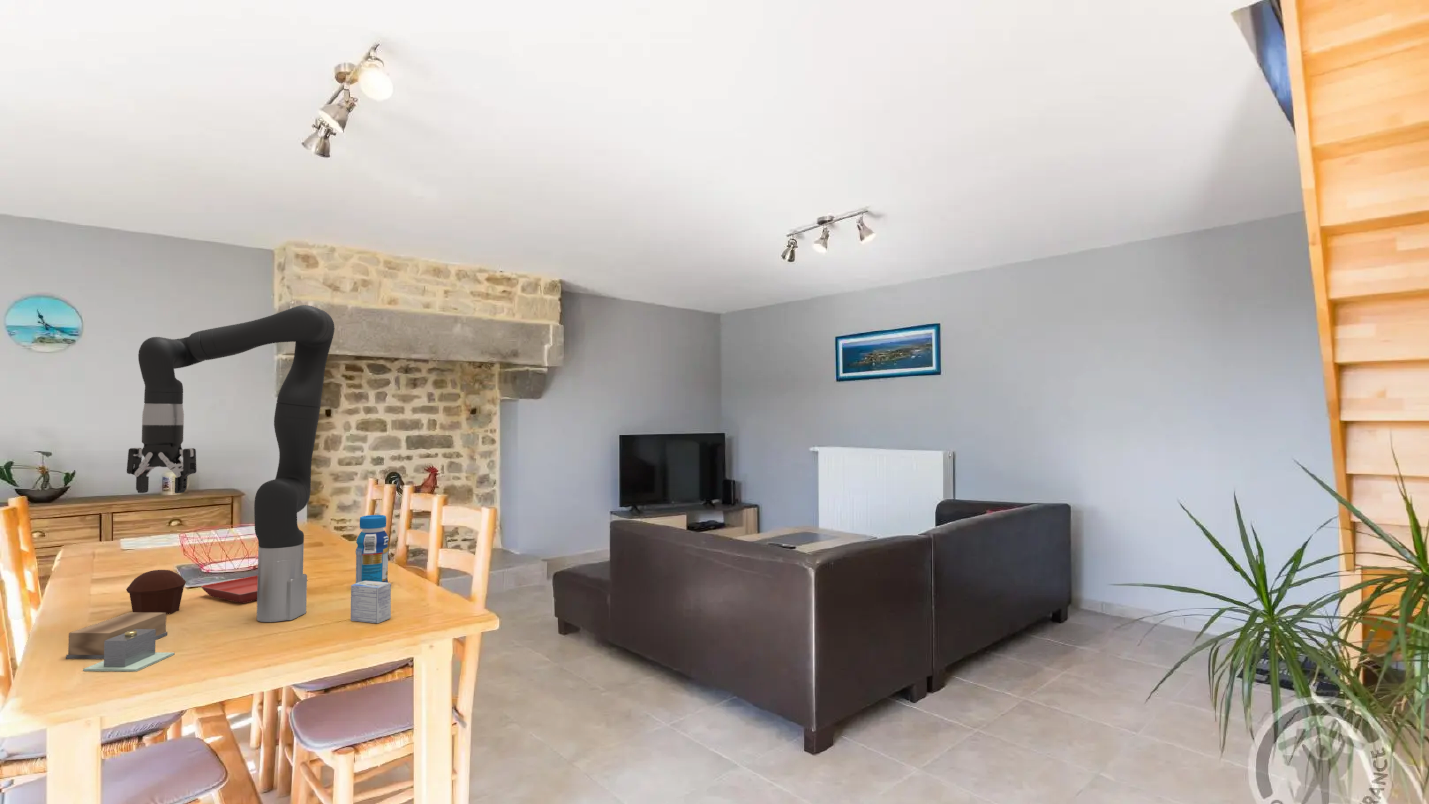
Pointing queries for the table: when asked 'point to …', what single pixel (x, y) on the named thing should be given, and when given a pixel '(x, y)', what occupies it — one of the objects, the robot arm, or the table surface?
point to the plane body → (112, 633)
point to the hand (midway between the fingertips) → (161, 492)
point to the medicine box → (370, 601)
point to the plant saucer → (234, 589)
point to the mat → (133, 667)
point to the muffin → (156, 592)
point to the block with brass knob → (129, 647)
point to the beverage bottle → (372, 550)
